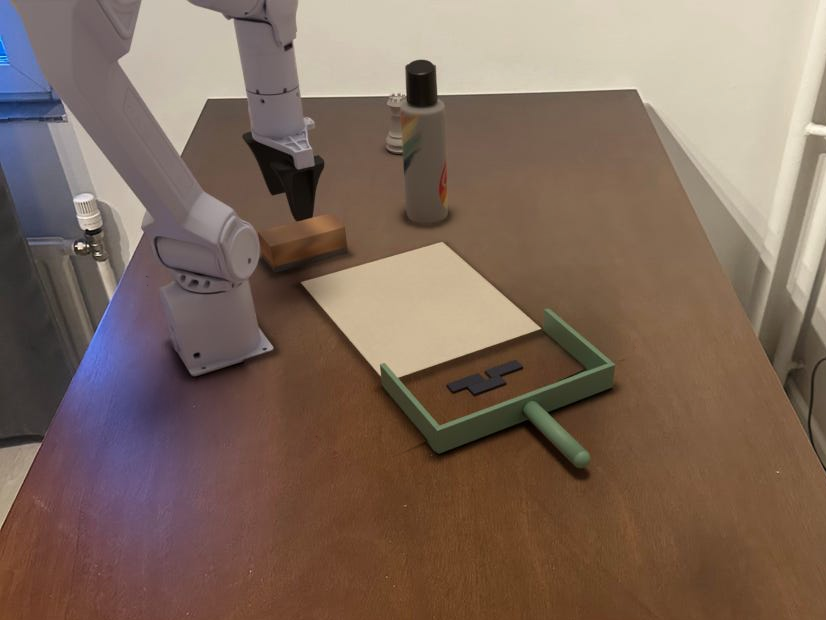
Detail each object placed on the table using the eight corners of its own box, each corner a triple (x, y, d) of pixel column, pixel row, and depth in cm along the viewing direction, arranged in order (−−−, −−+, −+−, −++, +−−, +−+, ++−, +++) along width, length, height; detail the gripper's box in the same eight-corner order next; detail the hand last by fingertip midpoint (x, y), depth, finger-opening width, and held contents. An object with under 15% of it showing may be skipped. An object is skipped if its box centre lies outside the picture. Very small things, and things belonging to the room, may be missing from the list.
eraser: (275, 275, 112) (270, 246, 109) (262, 260, 115) (257, 231, 112) (348, 255, 115) (345, 226, 113) (334, 240, 118) (330, 212, 115)
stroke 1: (453, 395, 94) (453, 391, 94) (446, 388, 95) (446, 383, 94) (485, 384, 95) (485, 379, 95) (478, 376, 96) (478, 372, 96)
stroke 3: (491, 381, 96) (491, 377, 95) (484, 374, 97) (484, 370, 96) (523, 370, 97) (523, 366, 97) (515, 363, 98) (515, 359, 98)
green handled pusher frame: (382, 388, 95) (379, 364, 93) (547, 331, 103) (548, 307, 101) (490, 517, 81) (490, 492, 79) (671, 440, 89) (676, 415, 87)
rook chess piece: (382, 146, 140) (378, 93, 134) (408, 141, 141) (405, 88, 136) (392, 157, 137) (388, 103, 131) (419, 151, 138) (416, 98, 133)
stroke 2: (474, 398, 94) (474, 393, 93) (467, 390, 95) (467, 386, 94) (506, 386, 95) (506, 382, 95) (499, 379, 96) (499, 374, 96)
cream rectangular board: (385, 385, 96) (385, 381, 95) (301, 285, 110) (300, 282, 110) (541, 332, 103) (541, 328, 102) (442, 245, 117) (442, 241, 117)
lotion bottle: (450, 208, 125) (446, 56, 111) (445, 227, 121) (440, 72, 107) (410, 206, 125) (401, 54, 111) (403, 225, 121) (393, 71, 107)
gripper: (333, 100, 93) (347, 222, 102) (282, 59, 102) (299, 174, 111) (269, 113, 90) (290, 237, 100) (222, 70, 99) (245, 187, 109)
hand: (291, 205), depth 105 cm, fingers open, 7 cm apart
